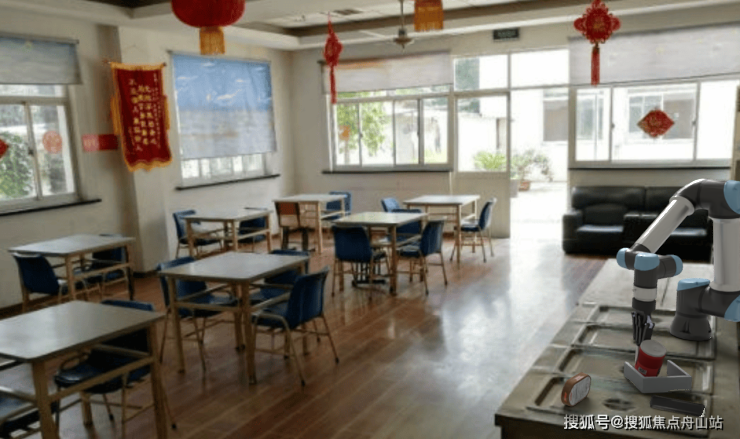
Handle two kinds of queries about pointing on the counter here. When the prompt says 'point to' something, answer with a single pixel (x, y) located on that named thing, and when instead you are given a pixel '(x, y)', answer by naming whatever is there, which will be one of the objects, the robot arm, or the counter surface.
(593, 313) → the counter surface
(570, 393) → the tin
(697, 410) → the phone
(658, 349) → the canned food
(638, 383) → the box
